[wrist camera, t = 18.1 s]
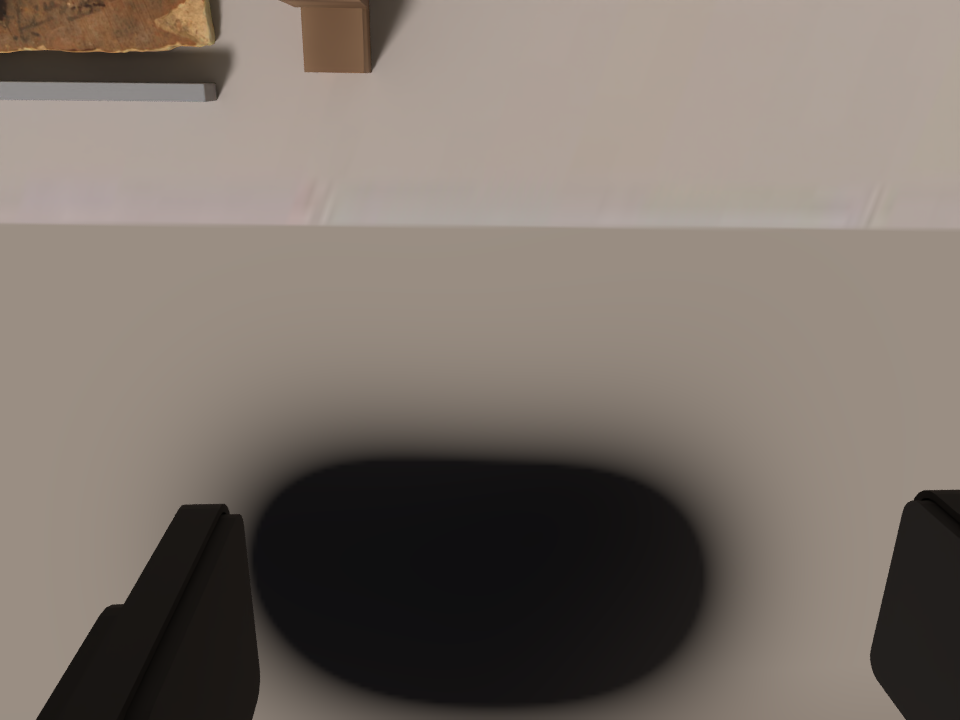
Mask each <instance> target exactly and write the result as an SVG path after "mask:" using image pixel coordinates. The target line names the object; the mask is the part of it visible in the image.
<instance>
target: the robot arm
mask: <svg viewBox="0 0 960 720" xmlns="http://www.w3.org/2000/svg"><path fill="white" fill-rule="evenodd" d="M870 661H871V666H872V670H873V673H874V675H875V677H876V679H877V681H878V682H879V683H880V685H881V686H882V687H883V689H884V690H885V692H886V693H887V694H888V696H889V697H890V698H891V700H892V701H893V703H894V704H895V705H896V707H897V708H898V709H899V711H900V712H901V713H902V715H903V716H904V718H905V719H906V720H960V490H924V491H922V492H920V493H918V494H917V496H916V497H915V498H914V501H910V502H908V503H907V504H906V505H905V507H904V510H903V513H902V517H901V522H900V526H899V530H898V535H897V539H896V543H895V547H894V552H893V556H892V560H891V565H890V569H889V573H888V578H887V582H886V586H885V591H884V595H883V599H882V604H881V608H880V612H879V617H878V621H877V625H876V630H875V634H874V638H873V643H872V647H871V653H870ZM259 685H260V668H259V659H258V650H257V641H256V633H255V624H254V613H253V604H252V595H251V586H250V577H249V567H248V558H247V549H246V540H245V531H244V524H243V519H242V516H241V515H240V514H229V510H228V507H227V506H226V505H225V504H198V505H197V504H193V505H182V506H181V507H180V508H179V510H178V511H177V513H176V515H175V517H174V518H173V520H172V522H171V524H170V525H169V527H168V529H167V530H166V532H165V534H164V536H163V537H162V539H161V541H160V543H159V544H158V546H157V548H156V550H155V551H154V553H153V555H152V556H151V558H150V560H149V561H148V563H147V565H146V567H145V568H144V570H143V572H142V574H141V575H140V577H139V579H138V581H137V583H136V584H135V586H134V588H133V589H132V591H131V593H130V595H129V596H128V598H127V600H126V601H125V603H124V604H117V605H111V606H109V607H106V608H105V610H104V611H103V612H102V613H101V615H100V616H99V617H98V619H97V621H96V622H95V624H94V626H93V627H92V629H91V631H90V632H89V634H88V635H87V637H86V639H85V640H84V642H83V644H82V645H81V647H80V648H79V650H78V652H77V654H76V655H75V657H74V658H73V660H72V662H71V663H70V665H69V666H68V668H67V670H66V671H65V673H64V675H63V676H62V678H61V680H60V681H59V683H58V685H57V686H56V688H55V689H54V691H53V693H52V694H51V696H50V698H49V699H48V701H47V703H46V704H45V706H44V708H43V709H42V711H41V712H40V714H39V716H38V717H37V719H36V720H252V718H253V714H254V711H255V707H256V704H257V700H258V695H259Z"/></svg>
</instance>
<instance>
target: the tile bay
mask: <svg viewBox="0 0 960 720" xmlns="http://www.w3.org/2000/svg"><path fill="white" fill-rule="evenodd" d="M0 100H74V101H177V102H207V101H214V100H217V95H216V86H215V83H146V82H56V81H0Z"/></svg>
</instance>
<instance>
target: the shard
mask: <svg viewBox="0 0 960 720" xmlns="http://www.w3.org/2000/svg"><path fill="white" fill-rule="evenodd" d="M214 43H215V33H214V26H213V23H212V16H211V10H210V2H209V0H0V53H10V52H15V51H23V50H32V51H33V50H62V51H66V52H108V53H119V52H123V53H125V52H129V51H139V52H145V51H166V50H172V49H174V48H176V47H179V46H194V47H202V46H205V45H209V46H210V45H212V44H214Z"/></svg>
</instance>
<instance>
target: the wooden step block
mask: <svg viewBox="0 0 960 720" xmlns="http://www.w3.org/2000/svg"><path fill="white" fill-rule="evenodd" d="M280 1H282V2H285V3H287V4H289V5H291V6H293V7H301V20H302V36H303V53H304V70H305V72H336V73H371V46H370V15H369V0H280Z"/></svg>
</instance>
